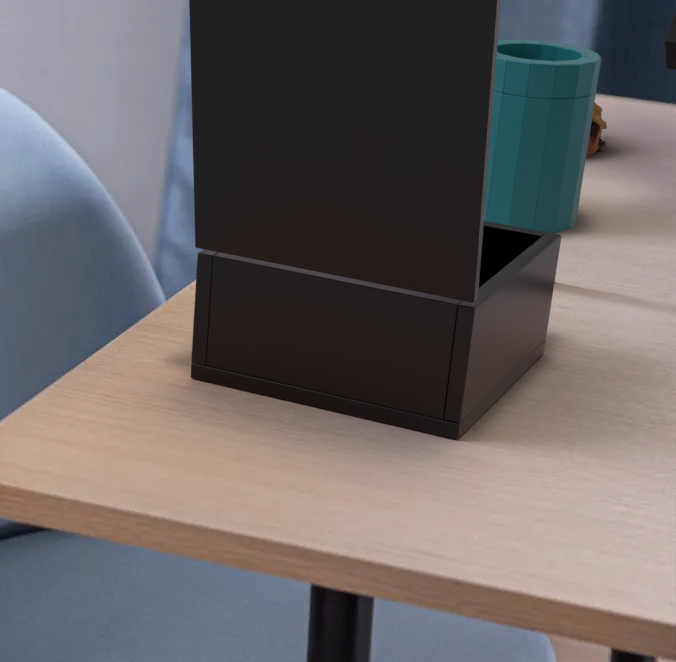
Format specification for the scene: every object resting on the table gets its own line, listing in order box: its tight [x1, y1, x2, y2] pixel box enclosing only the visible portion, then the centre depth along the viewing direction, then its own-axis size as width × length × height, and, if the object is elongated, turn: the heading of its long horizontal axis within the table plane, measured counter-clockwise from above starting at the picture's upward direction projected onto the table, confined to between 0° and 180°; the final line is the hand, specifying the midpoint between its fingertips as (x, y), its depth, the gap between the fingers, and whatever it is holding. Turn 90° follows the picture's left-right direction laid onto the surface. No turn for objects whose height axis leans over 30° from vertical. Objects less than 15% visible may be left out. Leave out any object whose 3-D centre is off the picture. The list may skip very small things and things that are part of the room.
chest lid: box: [188, 0, 502, 303], centre depth 76 cm, size 14×14×1 cm
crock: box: [484, 39, 602, 234], centre depth 109 cm, size 7×7×11 cm
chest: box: [190, 221, 562, 440], centre depth 87 cm, size 14×14×6 cm
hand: (563, 42), depth 111 cm, fingers open, 13 cm apart
